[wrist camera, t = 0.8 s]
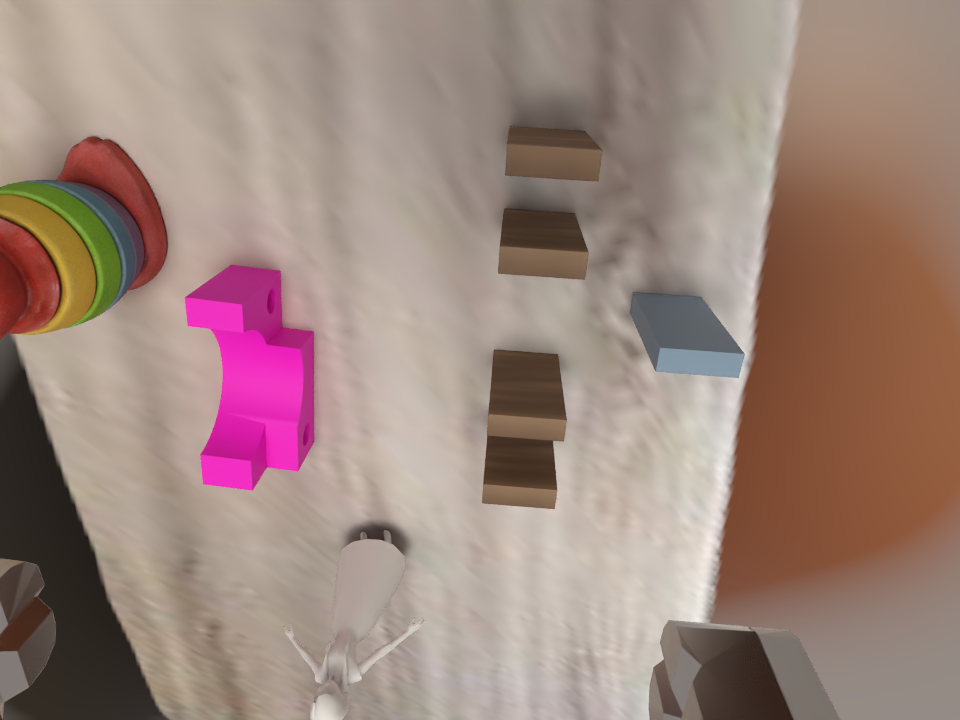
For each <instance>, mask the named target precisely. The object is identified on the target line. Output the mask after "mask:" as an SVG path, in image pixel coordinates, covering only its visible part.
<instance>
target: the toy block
mask: <svg viewBox="0 0 960 720" xmlns="http://www.w3.org/2000/svg"><path fill="white" fill-rule="evenodd" d="M185 303H186V313H187V323H188V326H192V327H200V328H208V329H211V330H212V332H213V333H214V335H215V337H216V339H217V341H218V344H219V347H220V351H221V357H222V366H223V383H222V394H221V401H220V406H219V411H218V415H217V418H216V422H215V425H214V428H213V431H212V433H211V436H210V438H209V440H208V442H207V444H206V446H205V448H204V450H203V451H202V453H201V454H200V456H201V467H202V477H203V484H206V485H214V486H222V487H230V488H237V489H245V490H253V489H254V487H255V486H256V484H257V482H258V481H259V479H260V478H261V476H262V474H263V473H264V471H265V470H266V468H267V467H269V468H277V469H285V470H293V471H298V470H299V469H300V467H301V465H302V463H303V461H304V459H305V458H306V456H307V454H308V452H309V450H310V448H311V446H312V445H313V443H314V332H313V331H305V330H297V329H289V328H282V308H281V273H280V271H276V270H268V269H260V268H252V267H244V266H236V265H230V266H229V267H228V268H226V269H225V270H223V271H222V272H220V273H219V274H218V275H216V276H215V277H213V278H212V279H210V280H209V281H208V282H206V283H205V284H203V285H202V286H200V287H199V288H198V289H196V290H195V291H193V292H192V293H191V294H189V295H188V296H186V297H185Z"/></svg>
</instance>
